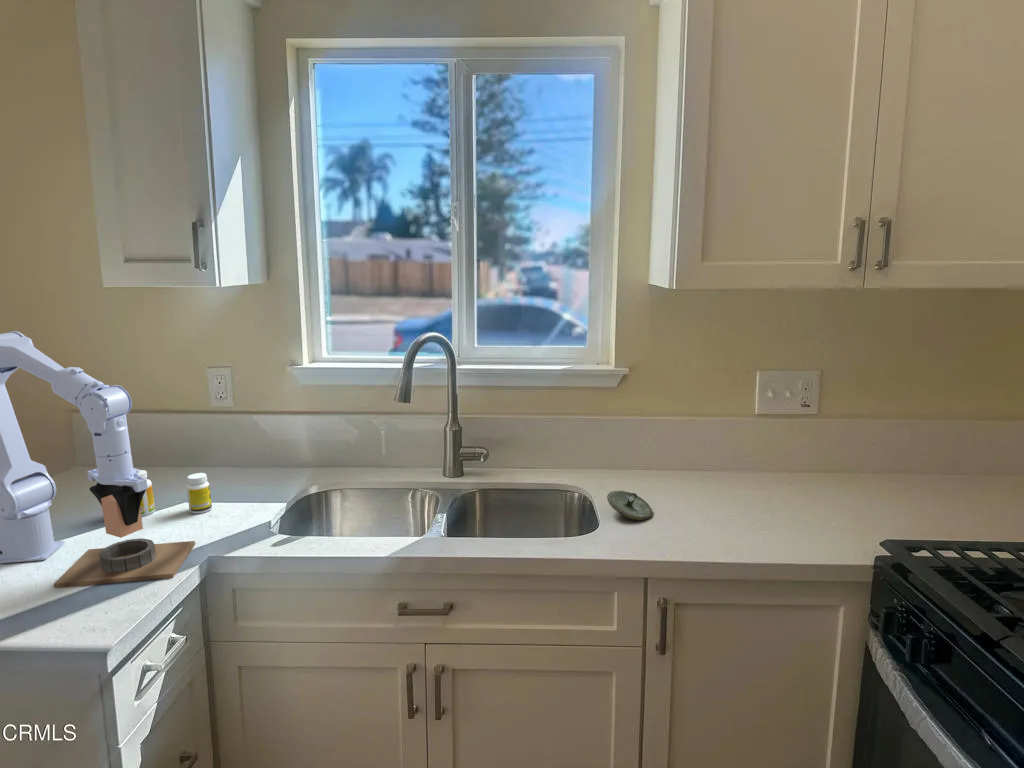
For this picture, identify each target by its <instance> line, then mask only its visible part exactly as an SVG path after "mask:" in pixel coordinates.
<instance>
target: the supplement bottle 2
mask: <svg viewBox="0 0 1024 768" xmlns="http://www.w3.org/2000/svg"><path fill="white" fill-rule="evenodd" d="M186 480H187V485H186V492H187V500H188V510H189V513H191V514H192V515H198V514H199V515H200V514H204V513H207V512H210V511H211V510H213V505H212V504H213V503H212V495H211V488H210V485H211V484H210V483H209V482H208V477H207V474H206V473H205V472H197V473H192V474H190V475H187V479H186Z"/></svg>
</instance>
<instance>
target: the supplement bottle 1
mask: <svg viewBox="0 0 1024 768" xmlns="http://www.w3.org/2000/svg"><path fill="white" fill-rule="evenodd" d="M137 474H138V475H139V476H141V477H142V478H144V479H147V486H148V489H147V490H146V491H145V493H144V495H143V498H142V501H141V504H140V510H141V518H142V517H146V516H149V515H151V514H153V513H154V512H155V511H156V506H155V505H156V504H155V498H154V491H153V485H152V484H153V483H152V481H151V479H148V472H147V470H145V469H139V473H137Z"/></svg>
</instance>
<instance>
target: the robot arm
mask: <svg viewBox="0 0 1024 768" xmlns="http://www.w3.org/2000/svg"><path fill="white" fill-rule="evenodd" d="M18 369H21V370H23V371H26V372H27V373H29V374H32V375H33V376H35V377H37V378H40V379H41V380H43V381H46V382H47V383H49V384H50V387H51V391H52V392H53V394H55V395H57V396H59V397H60V398H62V399H64V400H65V401H67V402H68V403H70V404H72V405H74V406H75V407H77V408H78V410H79V412H80V415H81V417H82V418H83V419H84V420H85V422H86V424H87V429H88V430H89V432H90V433H91V437H92V442H93V443H92V444H93V450H94V457H95V463H96V468H94V469H90V470H87V472H86V473H87V479H88V481H89V482H95V481H96V484H95V485H93V486H91V487H89V491H90V492H91V494H93V495H94V497H95V498H96V499H97V500H98V502H99V505H101V507H102V503H101V498H104V497H107V496H110V495H112V496H113V497H114V498H115V500H116V501H117V503H118V505H119V507H120V510H121V514H122V518H123V521H124V523H125V525H127V526H128V525H131V524H133V523H136V522H137V521H138V515H139V509H140V504H141V501H142V498H143V495H144V493H145V491H146V490H147V489H148V486H147V479H148V478H146V479H144V478H142V477H141V476H139V475H138V474H137V473H139V470H140V469H138V468H136V467H135V468H134V464H133V455H132V449H131V442H130V434H129V429H128V428H129V427H128V422H127V414H129V413H130V411H131V410H132V408H133V407H132V406H133V400H132V398H131V395H130V394H129V392H128V391H127V390H126V389H125V388H124V387H123V386H121V385H118V384H113V385H109V384H105V383H104V382H102V381H100V380H97V379H96V378H93V377H92V376H91V375H89V374H87V373H85V372H84V369H82V368H81V367H77V366H76V367H74V366H69V367H66V368H65V367H63V365H60V364H59V363H58V362H56V361H55V360H53V359H52V358H50V357H49V356H47V355H46V354H45V353H43V352H42V351H40V350H39V349H38V348H36V346H34V344H33V341H32V339H31V338H30V337H28V336H25V335H24V334H23V333H22V332H20V331H17V330H15V331H14V330H13V331H8V332H5V333H0V564H10V563H21V562H22V563H23V562H33V561H34V562H35V561H45V560H46V559H48V558H49V557H50V556H52V555H53V553H54V552H56V551H57V550H58V549H59V548H60V547H61V546H63V544H65V540H55V538H54V531H53V527H52V521H51V515H50V514H51V513H50V508H49V507H51V506H52V504H53V503H52V500H53V499H54V498H55V497H56V494H57V486H56V483H55V481H54V480H53V478H52V477H51V476H50V474H49V473H48V470H47V467H46V466H45V465H44V464H42V463H38V462H37V461H35V460H32V458H31V457H30V454H29V450H28V448H27V445H26V443H25V442H26V441H25V439H24V436H23V434H22V431H21V428H20V425H19V422H18V419H17V416H16V414H15V410H14V406H13V405H12V401H11V399H10V396H9V392H8V390H7V387H6V382H7V380H8V379H9V377H10V376H12V375H13V374H14V373H15V372H16V371H18Z"/></svg>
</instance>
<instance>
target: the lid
mask: <svg viewBox="0 0 1024 768" xmlns="http://www.w3.org/2000/svg"><path fill="white" fill-rule="evenodd" d="M606 500H607V502H608V504H609V505H610V507H611V508H612V509H613V510H614V511H616V512H617V513H619V514H620V515H621V516H624V517H625V518H628V519H631V520H634V521H641V522H642V521H644V520H645V521H646V520H648V519H650V518H652V516H653V509H652V507H651V506H650V505H649V503H648V502H647V501H646V500H645V499H643V498H641V497H640V496H639V495H638V494H637V493H635V492H629V491H625V490H614V491H613V490H612V491H610V492H609V493H607V496H606Z"/></svg>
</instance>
